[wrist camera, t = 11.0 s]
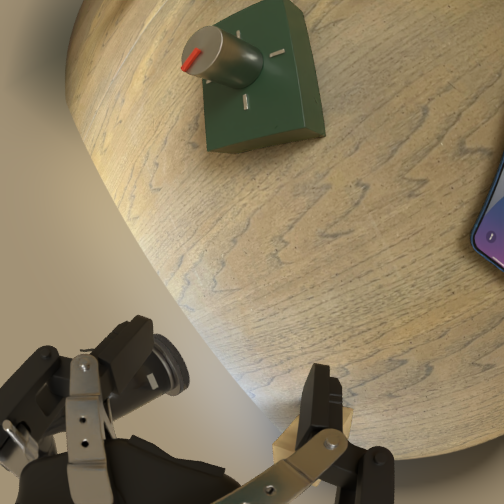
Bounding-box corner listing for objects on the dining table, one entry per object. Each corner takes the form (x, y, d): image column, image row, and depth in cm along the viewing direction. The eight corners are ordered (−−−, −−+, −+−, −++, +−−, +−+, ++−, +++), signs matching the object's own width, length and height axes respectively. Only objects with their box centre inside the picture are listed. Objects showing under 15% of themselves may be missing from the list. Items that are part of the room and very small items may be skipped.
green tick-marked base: (326, 136, 22) (304, 127, 18) (234, 154, 28) (205, 151, 25) (302, 11, 19) (280, -9, 16) (225, 43, 25) (198, 32, 22)
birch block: (310, 427, 29) (274, 471, 22) (311, 398, 28) (272, 444, 22) (348, 437, 26) (316, 487, 19) (353, 408, 25) (320, 461, 19)
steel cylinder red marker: (245, 38, 19) (202, 16, 15) (272, 61, 19) (229, 38, 15) (216, 72, 22) (171, 58, 18) (239, 98, 21) (192, 84, 17)
